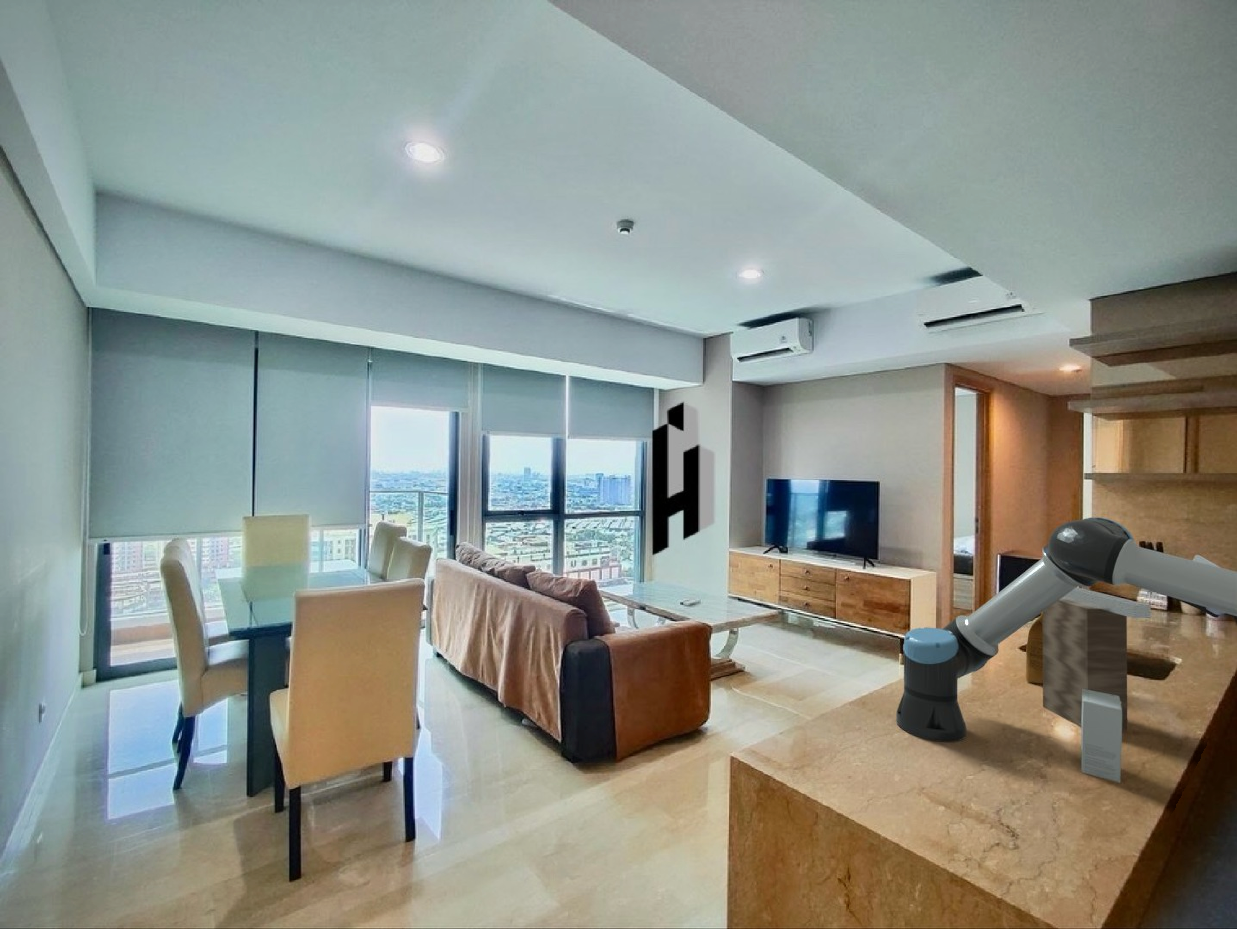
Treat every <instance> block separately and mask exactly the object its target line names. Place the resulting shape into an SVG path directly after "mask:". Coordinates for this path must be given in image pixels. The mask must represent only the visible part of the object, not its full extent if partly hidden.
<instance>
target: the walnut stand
mask: <svg viewBox="0 0 1237 929" xmlns="http://www.w3.org/2000/svg"><path fill="white" fill-rule="evenodd" d="M1127 621H1128V616H1124V615H1120V614H1117V613H1113V612H1110V611H1106V610H1102V609H1099V608H1095V607H1092V606H1088V605H1084V604H1081V603H1077V602H1074V601H1070V600H1066V599H1063V598H1061V599H1059V600H1058V601H1057V602H1055V603H1054V604H1053V605H1051V606H1050V607H1049V608H1047V609H1046V610H1044V611H1043V684H1042V707H1043V708H1045V709H1046V710H1048V711H1050V712H1052V713H1054V714H1055V715H1057V716H1060V717H1061V718H1063V719H1066V720H1067V721H1069V722H1071V723H1072V724H1075V725H1077V726H1079V727H1080V728H1081V714H1082V689H1086V690H1091V691H1096V692H1101V693H1106V694H1111V695H1116V696H1119V698H1120V701H1121V702H1122V703H1121V707H1122V731H1128V642H1127V641H1128V638H1127V637H1128V628H1127V627H1128V624H1127V623H1128V622H1127Z"/></svg>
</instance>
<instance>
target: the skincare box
mask: <svg viewBox="0 0 1237 929" xmlns="http://www.w3.org/2000/svg"><path fill="white" fill-rule="evenodd" d="M1121 703H1122V702H1121V701H1120V698H1119V696H1116V695H1111V694H1106V693H1101V692H1096V691H1091V690H1086V689H1082V714H1081V727H1080V729H1081V730H1080V736H1081V737H1080V742H1081V743H1080V764H1081V773H1082V774H1085V775H1090V776H1093V777H1096V778H1101V779H1105V780H1108V781H1110V782H1111V781H1113V782H1115V783H1119V784H1120V783H1121V777H1122V776H1121V774H1122V772H1121V770H1122V768H1121V767H1122V750H1123V749H1122V748H1123V747H1122V746H1123V745H1122V743H1123V742H1122V741H1123V740H1122V739H1123V737H1122V736H1123V730H1122V707H1121Z"/></svg>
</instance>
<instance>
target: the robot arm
mask: <svg viewBox="0 0 1237 929" xmlns="http://www.w3.org/2000/svg"><path fill="white" fill-rule="evenodd" d="M1041 551H1042V558H1041V559H1040V560H1038V561H1037V562H1035V563H1034V564H1033V565H1032V566H1030V567H1029V568H1028V569H1027V570H1025V572H1023V573H1022V574H1021V575H1020V576H1018V577H1017V578H1015V579H1014V580H1012V581H1011V582H1010V583H1009V584H1008V585H1007V586H1005V587H1004V588H1003V589H1001V590H1000V591H999V592H997V593H996V594H995V595H994V596H993V597H991V599H989V600H988V601H987V602H985V603H984V604H982V605H981V606H980V607H979V608H977V609H976V610H975V611H974V612H973V613H971V614H970V615H958V616H957V617H955V619H953V620H952V621H950V622H949V623H948V624H946V625H945V626H944V627H943V628H938V627H928V626H927V627H916V628H913V629H911V630H909V631H907V632H906V633H905V634H904V639H903V640H904V641H903V645H902V647H903V648H902V650H903V694H902V696H901V699H900V700H899V704H898V707H897V710H896V711H895V712H896V714H895V716H896V717H895V718H896V720H895V722H896V724H897V725H898V726H899V728H901V729H902V730H904V731H906V732H908V733H909V734H910V735H913V736H917V737H919V738H921V739H925V740H926V739H927V740H931V741H935V742H936V741H938V742H946V743H948V742H950V743H951V742H958V741H962V740H964V739H965V738H966V736H967V724H966V722H965V720H964V717H963V713H962V710H961V707H960V704H959V700H958V679H960V678H962V677H964V676H966V675H969V674H971V673H974V672H977V671H980V670H981V669H982V668H984V666H985V665H986V664H987V663H988V661H989V660H991V659H993V658H994V657H995V656H996V655H997V654H998V653H999V645H1000V643H1002V642H1004V641H1005V640H1006V639H1008V638H1009V637H1010V636H1011V635H1013V634H1014V633H1015V632H1017V631H1019V630H1020V629H1021V628H1023V627H1024V626H1026V625H1027V624H1028V623H1030V621H1033V619H1035V618H1036V617H1038V616H1039V615H1041V613H1042V612H1043V611H1044V610H1046V609H1047V608H1049V607H1050V606H1051V605H1053V604H1054V603H1055V602H1057V601H1058V600H1059V599H1061V598H1062V597H1064V596H1065V595H1066V594H1068V593H1069V592H1070V591H1072V590H1073V589H1075V588H1076V587H1079V588H1091V587H1092V586H1094V585H1095V584H1097V583H1098V582H1102V583H1104V584H1105V583H1106V584H1109V585H1113V586H1116V587H1118V586H1121V585H1125V584H1127V585H1130V586H1134V587H1137V588H1140V589H1144V590H1147V591H1151V592H1153V593H1157V594H1160V595H1164V596H1167V597H1170V598H1172V599H1174V600H1177V601H1179V602H1182V603H1183V604H1186V605H1188V606H1190V607H1193V608H1195V609H1197V610H1200V611H1203V613H1205V614H1207V615H1209V616H1210V617H1212V618H1215V619H1217V618H1219V616H1220V615H1221V614H1224V615H1227V616H1228V617H1231V618H1233V619H1234V621H1235V624H1236V626H1237V571H1234V570H1232V569H1227V568H1223V567H1221V566H1219V565H1218V564H1216V563H1214V562H1212V561H1210V560H1208V559H1206V558H1205V557H1203V556H1201V555H1199V554H1195V555H1194V557H1193V559H1188V558H1184V557H1180V556H1175V555H1172V554H1168V553H1164V552H1160V551H1157V550H1153V549H1148V548H1144V547H1142V546H1139V545H1138V544H1137V543H1136V542H1135V540H1134V537H1133V535H1132V534H1131V532H1130V531H1129V530H1128V529H1127V528H1126V527H1125V526H1124V525H1123V524H1121V523H1119V522H1118V521H1114V520H1112V519H1108V518H1105V517H1104V518H1103V517H1100V516H1099V517H1093V516H1092V517H1086V518H1084V519H1077V520H1076V519H1075V520H1071V521H1067V522H1064V523H1062V524H1060V525H1059V526H1058V527H1056V528H1055V529H1054V530H1053V531H1052V532H1051V534H1050V536H1049V539H1048V543H1047V544H1046V545H1045V546H1044V547H1042V549H1041Z"/></svg>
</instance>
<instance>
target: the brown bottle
mask: <svg viewBox="0 0 1237 929" xmlns="http://www.w3.org/2000/svg"><path fill="white" fill-rule="evenodd" d="M1025 649H1026V650H1025V654H1026V655H1025V656H1026V658H1025V660H1026V661H1025V681H1026V682H1028V683H1033V684H1039V685H1043V612H1042V613H1040V616H1039V617H1038V618H1037V619H1036V620H1035V621H1034V622H1033V623H1032V624H1031V626H1030V628H1029V630H1028V635H1027V642H1026V647H1025Z"/></svg>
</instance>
